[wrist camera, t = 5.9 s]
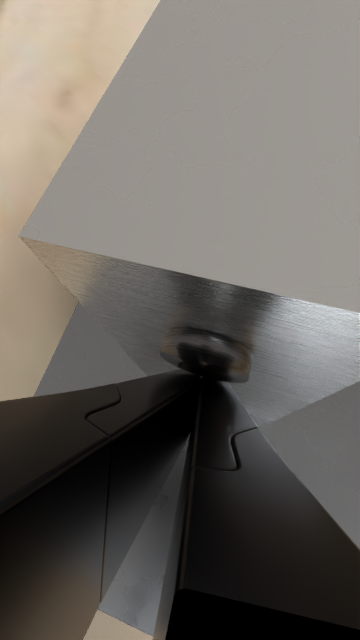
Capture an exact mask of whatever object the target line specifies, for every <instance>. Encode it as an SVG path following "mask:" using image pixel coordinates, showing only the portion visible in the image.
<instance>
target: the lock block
mask: <svg viewBox="0 0 360 640" xmlns="http://www.w3.org/2000/svg"><path fill="white" fill-rule="evenodd" d="M19 237H20V238H21V239H22V240H23V241H24V243H25V244H26V245H27V246H28V247H29V248H30V249H31V250H32V251H33V252H34V253H35V255H36V256H37V257H38V258H39V259H40V260H41V261H42V262H43V263H44V264H45V265H46V267H47V268H48V269H49V270H50V271H51V272H52V273H53V274H54V275H55V276H56V277H57V278H58V280H59V281H60V282H61V283H62V284H63V285H64V286H65V287H66V288H67V289H68V290H69V292H70V293H71V294H72V295H73V296H74V297H75V298H76V299H77V300H78V301H79V302H80V304H81V305H82V306H83V307H84V308H85V309H86V310H87V311H88V312H89V313H90V314H91V315H92V317H93V318H94V319H95V320H96V321H97V322H98V323H99V324H100V325H101V326H102V327H103V329H104V330H105V331H106V332H107V333H108V334H109V335H110V336H111V337H112V338H113V339H114V341H115V342H116V343H117V344H118V345H119V346H120V347H121V348H122V349H123V350H124V351H125V353H126V354H127V355H128V356H129V357H130V358H131V359H132V360H133V361H134V362H135V363H136V364H137V366H138V367H139V368H140V369H141V370H142V371H143V372H144V373H145V374H146V375H147V376H151V375H156V374H160V373H165V372H169V371H174V370H179V369H183V370H185V371H188V372H190V373H193V374H196V375H199V376H202V377H205V378H209V379H213V380H217V381H222V382H228V383H229V384H230V386H231V387H232V389H233V390H234V392H235V393H236V395H237V396H238V398H239V399H240V401H241V402H242V404H243V405H244V407H245V408H246V410H247V411H248V413H249V414H251V415H255V416H258V417H261V418H264V419H268V420H271V421H275V420H277V419H280V418H282V417H284V416H286V415H288V414H290V413H292V412H295V411H297V410H299V409H301V408H303V407H305V406H307V405H310V404H312V403H314V402H316V401H318V400H320V399H322V398H325V397H327V396H329V395H331V394H333V393H335V392H337V391H340V390H342V389H344V388H346V387H348V386H350V385H353V384H355V383H357V382H359V381H360V0H161V1H160V2H159V4H158V6H157V7H156V9H155V11H154V12H153V14H152V16H151V17H150V19H149V21H148V22H147V24H146V25H145V27H144V29H143V30H142V32H141V34H140V35H139V37H138V39H137V40H136V42H135V44H134V45H133V47H132V49H131V50H130V52H129V54H128V55H127V57H126V59H125V60H124V62H123V64H122V65H121V67H120V69H119V70H118V72H117V74H116V75H115V77H114V79H113V80H112V82H111V83H110V85H109V87H108V88H107V90H106V92H105V93H104V95H103V97H102V98H101V100H100V102H99V103H98V105H97V107H96V108H95V110H94V112H93V113H92V115H91V117H90V118H89V120H88V122H87V123H86V125H85V127H84V128H83V130H82V132H81V133H80V135H79V137H78V138H77V140H76V142H75V143H74V145H73V146H72V148H71V150H70V151H69V153H68V155H67V156H66V158H65V160H64V161H63V163H62V165H61V166H60V168H59V170H58V171H57V173H56V175H55V176H54V178H53V180H52V181H51V183H50V185H49V186H48V188H47V190H46V191H45V193H44V195H43V196H42V198H41V200H40V201H39V203H38V205H37V206H36V208H35V209H34V211H33V213H32V214H31V216H30V218H29V219H28V221H27V223H26V224H25V226H24V228H23V229H22V231H21V233H20V234H19Z"/></svg>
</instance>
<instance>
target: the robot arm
mask: <svg viewBox="0 0 360 640" xmlns="http://www.w3.org/2000/svg"><path fill="white" fill-rule="evenodd" d="M189 435H190V436H189ZM188 438H189V441H188V446H187V452H186V457H185V463H184V468H183V474H182V480H181V485H180V491H179V496H178V502H177V507H176V513H175V519H174V524H173V530H172V535H171V541H170V546H169V552H168V557H167V563H166V569H165V574H164V580H163V585H162V591H161V596H160V602H159V608H158V613H157V619H156V624H155V630H154V635H153V640H360V549H359V548H358V546H357V545H356V544H355V543H354V542H353V541H352V540H351V538H350V537H349V536H348V535H347V534H346V533H345V531H344V530H343V529H342V528H341V527H340V526H339V525H338V523H337V522H336V521H335V520H334V519H333V518H332V516H331V515H330V514H329V513H328V512H327V511H326V509H325V508H324V507H323V506H322V505H321V504H320V503H319V501H318V500H317V499H316V498H315V497H314V496H313V494H312V493H311V492H310V491H309V490H308V489H307V488H306V486H305V485H304V484H303V483H302V482H301V481H300V479H299V478H298V477H297V476H296V475H295V474H294V473H293V471H292V470H291V469H290V468H289V467H288V465H287V464H286V463H285V462H284V461H283V459H282V458H281V457H280V456H279V455H278V453H277V452H276V451H275V449H274V448H273V447H272V445H271V444H270V443H269V441H268V440H267V438H266V437H265V436H264V434H263V433H262V431H261V430H260V429H259V428H258V426H257V425H256V423H255V422H254V420H253V419H252V417H251V416H250V414H249V413H248V411H247V410H246V408H245V407H244V405H243V404H242V402H241V401H240V399H239V398H238V396H237V395H236V393H235V392H234V390H233V389H232V387H231V386H230V384H229V383H228V382H222V381H217V380H213V379H209V378H205V377H202V376H199V375H196V374H193V373H190V372H188V371H185V370H183V369H179V370H174V371H169V372H165V373H160V374H156V375H151V376H147V377H142V378H138V379H133V380H129V381H124V382H119V383H117V384H116V383H112V384H108V385H103V386H98V387H93V388H88V389H82V390H76V391H69V392H63V393H56V394H49V395H42V396H35V397H28V398H21V399H14V400H7V401H0V640H83V638H84V636H85V634H86V632H87V630H88V628H89V626H90V623H91V621H92V619H93V617H94V615H95V613H96V611H97V610H98V608H99V605H100V603H101V602H102V600H103V598H104V596H105V595H106V593H107V591H108V589H109V587H110V585H111V583H112V581H113V579H114V578H115V576H116V574H117V572H118V570H119V568H120V566H121V564H122V563H123V561H124V559H125V557H126V555H127V553H128V551H129V549H130V547H131V546H132V544H133V542H134V540H135V538H136V536H137V534H138V532H139V530H140V529H141V527H142V525H143V523H144V521H145V519H146V517H147V515H148V514H149V512H150V510H151V508H152V506H153V504H154V502H155V500H156V498H157V497H158V495H159V493H160V491H161V489H162V487H163V485H164V483H165V482H166V480H167V478H168V476H169V474H170V472H171V470H172V468H173V466H174V465H175V463H176V461H177V459H178V457H179V455H180V453H181V451H182V449H183V448H184V446H185V444H186V442H187V440H188Z"/></svg>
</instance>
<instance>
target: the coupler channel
mask: <svg viewBox="0 0 360 640" xmlns="http://www.w3.org/2000/svg"><path fill="white" fill-rule="evenodd" d="M142 377H147V375H146V374H145V373H144V372H143V371H142V370H141V369H140V368H139V367H138V366H137V364H136V363H135V362H134V361H133V360H132V359H131V358H130V357H129V356H128V355H127V354H126V353H125V351H124V350H123V349H122V348H121V347H120V346H119V345H118V344H117V343H116V342H115V341H114V339H113V338H112V337H111V336H110V335H109V334H108V333H107V332H106V331H105V330H104V329H103V327H102V326H101V325H100V324H99V323H98V322H97V321H96V320H95V319H94V318H93V317H92V315H91V314H90V313H89V312H88V311H87V310H86V309H85V308H84V307H83V306H82V305H81V304H80V302H79V303H78V305H77V307H76V309H75V311H74V313H73V315H72V317H71V319H70V322H69V324H68V326H67V328H66V330H65V332H64V334H63V336H62V338H61V340H60V343H59V345H58V347H57V349H56V351H55V353H54V355H53V357H52V359H51V361H50V364H49V366H48V368H47V370H46V372H45V374H44V376H43V378H42V380H41V382H40V385H39V387H38V389H37V391H36V393H35V395H34V397H35V396H42V395H49V394H56V393H63V392H69V391H76V390H82V389H88V388H93V387H98V386H103V385H108V384H112V383H116V384H117V383H119V382H124V381H129V380H133V379H138V378H142ZM250 416H251V417H252V419H253V420H254V422H255V423H256V425H257V426H258V428H259V429H260V430H261V431H262V433H263V434H264V436H265V437H266V438H267V440H268V441H269V443H270V444H271V445H272V447H273V448H274V449H275V451H276V452H277V453H278V455H279V456H280V457H281V458H282V459H283V461H284V462H285V463H286V464H287V465H288V467H289V468H290V469H291V470H292V471H293V473H294V474H295V475H296V476H297V477H298V478H299V479H300V481H301V482H302V483H303V484H304V485H305V486H306V488H307V489H308V490H309V491H310V492H311V493H312V494H313V496H314V497H315V498H316V499H317V500H318V501H319V503H320V504H321V505H322V506H323V507H324V508H325V509H326V511H327V512H328V513H329V514H330V515H331V516H332V518H333V519H334V520H335V521H336V522H337V523H338V525H339V526H340V527H341V528H342V529H343V530H344V531H345V533H346V534H347V535H348V536H349V537H350V538H351V540H352V541H353V542H354V543H355V544H356V545H357V546H358V548H359V549H360V381H359V382H357V383H355V384H353V385H350V386H348V387H346V388H344V389H342V390H340V391H337V392H335V393H333V394H331V395H329V396H327V397H325V398H322V399H320V400H318V401H316V402H314V403H312V404H310V405H307V406H305V407H303V408H301V409H299V410H297V411H295V412H292V413H290V414H288V415H286V416H284V417H282V418H280V419H277V420H275V421H271V420H268V419H264V418H261V417H258V416H255V415H251V414H250ZM189 436H190V435H189ZM188 441H189V438H188V440H187V442H186V444H185V446H184V448H183V449H182V451H181V453H180V455H179V457H178V459H177V461H176V463H175V465H174V466H173V468H172V470H171V472H170V474H169V476H168V478H167V480H166V482H165V483H164V485H163V487H162V489H161V491H160V493H159V495H158V497H157V498H156V500H155V502H154V504H153V506H152V508H151V510H150V512H149V514H148V515H147V517H146V519H145V521H144V523H143V525H142V527H141V529H140V530H139V532H138V534H137V536H136V538H135V540H134V542H133V544H132V546H131V547H130V549H129V551H128V553H127V555H126V557H125V559H124V561H123V563H122V564H121V566H120V568H119V570H118V572H117V574H116V576H115V578H114V579H113V581H112V583H111V585H110V587H109V589H108V591H107V593H106V595H105V596H104V598H103V600H102V602H101V603H100V605H99V608H98V610H100V611H102V612H104V613H106V614H108V615H110V616H112V617H114V618H116V619H118V620H120V621H122V622H124V623H126V624H128V625H130V626H132V627H134V628H137V629H139V630H141V631H143V632H145V633H147V634H149V635H151V636H153V635H154V630H155V624H156V619H157V613H158V608H159V602H160V596H161V591H162V585H163V580H164V574H165V569H166V563H167V557H168V552H169V546H170V541H171V535H172V530H173V524H174V519H175V513H176V507H177V502H178V496H179V491H180V485H181V480H182V474H183V468H184V463H185V457H186V452H187V446H188Z"/></svg>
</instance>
